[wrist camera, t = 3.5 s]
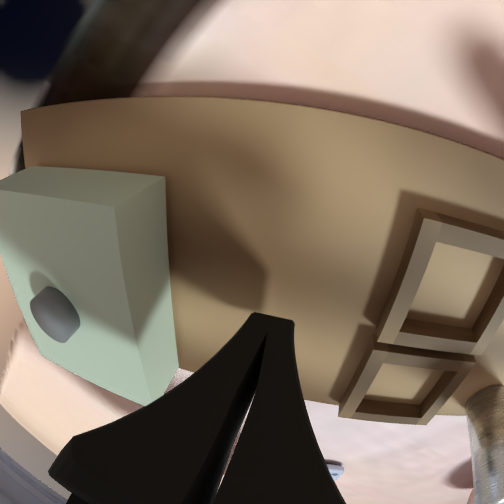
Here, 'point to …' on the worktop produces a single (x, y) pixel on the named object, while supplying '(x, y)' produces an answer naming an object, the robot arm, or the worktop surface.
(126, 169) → the board
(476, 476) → the pin
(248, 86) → the worktop surface
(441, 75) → the worktop surface
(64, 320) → the cover
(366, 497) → the worktop surface
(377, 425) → the worktop surface
